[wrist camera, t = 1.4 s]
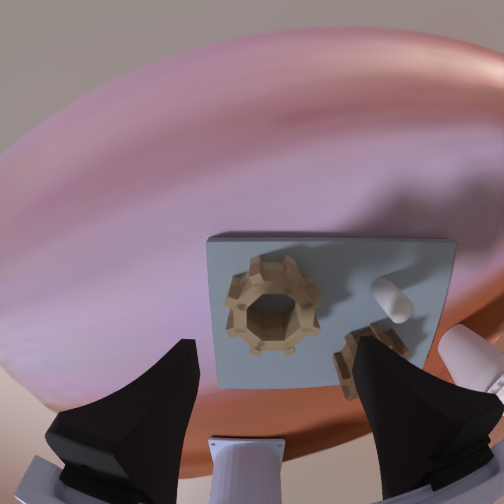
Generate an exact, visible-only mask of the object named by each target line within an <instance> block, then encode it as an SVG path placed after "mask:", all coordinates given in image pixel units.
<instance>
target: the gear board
mask: <svg viewBox="0 0 504 504" xmlns="http://www.w3.org/2000/svg"><path fill="white" fill-rule="evenodd" d="M456 244H457V243H456V242H453V241H451V240H449V239H431V238H379V237H209V238H208V240H207V241H206V251H207V267H208V282H209V296H210V308H211V320H212V331H213V341H214V351H215V361H216V370H217V379H218V387H219V388H227V389H287V388H306V387H320V386H331V385H341V383H340V381H339V378H338V375H337V371H336V369H335V366H334V363H333V360H332V358H333V353H340V352H341V350H342V349H343V347H344V346H345V344H346V343H347V342H346V340H345V338H344V337H345V336H346V335H347V334H348V333H349V332H351V333H352V334H353V335H357V334H359V333H361V332H363V331H366V330H368V329H369V325H370V323H378V325H379V326H380V327H381V329H382V330H383V331H385V332H388V331H389V330H390V329H391V328H393V329H394V331H395V332H396V333H397V335H398V336H399V337H400V339H401V340H402V341H403V343H404V344H405V345H406V347H407V348H408V350H409V351H410V352H411V355H410V356H409V357H408V358H407V361H409V362H410V363H412V364H414V365H415V366H417V367H418V368H420V369H422V368H423V365H424V362H425V360H426V357H427V355H428V352H429V349H430V346H431V344H432V341H433V338H434V335H435V332H436V329H437V325H438V322H439V319H440V315H441V312H442V308H443V305H444V301H445V297H446V293H447V289H448V285H449V281H450V276H451V271H452V266H453V261H454V256H455V250H456ZM258 255H260V257H261V260H262V262H282V261H283V259H284V256H285V255H287V256H290V257H292V258H294V259H295V262H296V264H297V267H298V269H299V272H300V274H301V276H302V277H303V278H305V277H307V276H310V275H311V277H312V279H313V281H314V283H315V285H316V287H317V289H318V291H319V293H320V295H321V298H322V301H323V304H324V305H322V306H319V307H317V308H315V314H316V317H317V320H318V323H319V325H320V328H321V330H320V331H319V333H318V335H317V336H316V337H314V336H310V335H307V336H306V337H305V338H304V339H302V340H301V341H300V342H298V343H297V344H296V345H295V346H294V347H295V353H294V354H292V355H289V356H286V355H285V353H284V351H283V350H272V351H262V353H261V355H260V357H258V356H255V355H252V354H250V345H249V344H248V343H247V342H246V341H244V340H243V339H242V338H241V337H239V336H236V337H233V338H230V337H229V335H228V334H227V332H226V326H227V320H228V315H229V310H230V308H229V307H226V306H224V304H225V300H226V296H227V291H228V287H229V283H230V281H231V278H232V276H235V277H238V278H241V277H242V276H243V275H244V274H246V273H247V272H248V271H249V268H250V258H253V257H255V256H258ZM294 302H295V301H294V300H293V299H292V298H291V297H290V296H289V295H288V294H262V295H261V296H260V297H259V298H258V299H257V300H255V301H254V302H253V303H252V304H251V306H252V307H253V308H254V309H255V310H256V311H258V312H259V313H260V314H261V315H281V314H282V313H284V312H285V311H286V310H287V309H288V308H289V307H291V306H292V305H293V304H294Z"/></svg>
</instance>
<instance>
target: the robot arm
mask: <svg viewBox="0 0 504 504" xmlns="http://www.w3.org/2000/svg"><path fill="white" fill-rule="evenodd" d="M352 375H353V379H354V383H355V387H356V390H357V393H358V395H359V398H360V400H361V403H362V405H363V408H364V410H365V413H366V415H367V418H368V420H369V423H370V426H371V429H372V432H373V436H374V440H375V444H376V449H377V454H378V459H379V465H380V473H381V481H382V495H383V501H379V502H375V503H372V504H492V503H493V502H495V501H496V500H498V499H499V498H500V497H501V496H503V495H504V439H503V440H501V441H500V442H498V443H497V444H496V445H494V446H493V447H492V448H491V449H490V448H489V446H488V444H489V443H490V441H491V440H490V438H489V436H488V435H489V434H490V432H491V431H492V430H493V428H494V427H495V426H496V424H497V423H498V422H499V420H500V419H501V417H502V415H503V413H504V404H503V403H502V401H501V400H500V399H499V397H498V396H497V395H496V394H494V393H487V392H480V391H475V390H471V389H467V388H463V387H460V386H457V385H454V384H452V383H449V382H446V381H444V380H442V379H439V378H437V377H435V376H433V375H431V374H429V373H427V372H425V371H424V370H422V369H420V368H418V367H417V366H415V365H414V364H412V363H410V362H409V361H407V360H406V359H405V358H403V357H402V356H400V355H399V354H397V353H396V352H395V351H393V350H392V349H391V348H389V347H388V346H387V345H385V344H384V343H383V342H381V341H380V340H378V339H377V338H375V337H374V336H372V335H370V336H360V338H359V342H358V347H357V351H356V355H355V359H354V363H353V367H352ZM199 380H200V369H199V363H198V356H197V349H196V342H195V340H194V339H181V340H180V341H179V342H178V343H177V344H176V345H175V346H174V347H173V348H171V349H170V350H169V351H168V352H167V353H166V354H165V355H164V356H163V357H162V358H161V359H160V360H159V361H158V362H157V363H156V364H155V365H153V366H152V367H151V368H150V369H149V370H147V371H146V372H145V373H144V374H142V375H141V376H140V377H139V378H137V379H136V380H134V381H133V382H131V383H130V384H128V385H127V386H125V387H123V388H122V389H120V390H118V391H116V392H114V393H112V394H110V395H108V396H107V397H105V398H102V399H100V400H98V401H95V402H93V403H90V404H87V405H84V406H81V407H78V408H74V409H70V410H67V411H62V412H59V414H58V415H57V416H56V418H55V419H54V421H53V423H52V424H51V426H50V427H49V429H48V430H47V432H46V434H45V438H46V441H47V443H48V445H49V446H50V447H51V449H52V450H53V451H54V452H55V453H56V455H57V456H58V457H59V458H60V459H61V460H62V461H63V462H64V464H65V467H64V469H63V470H62V469H61V468H59V467H58V466H56V465H55V464H53V463H51V462H49V461H47V460H45V459H43V458H41V457H39V456H37V455H36V456H35V457H34V459H33V460H32V462H31V464H30V466H29V467H28V469H27V471H26V473H25V474H24V476H23V478H22V480H21V482H20V483H19V485H18V487H17V489H16V491H15V493H14V497H15V498H17V499H18V500H19V501H20V502H22V503H23V504H176V500H177V487H178V477H179V468H180V461H181V454H182V448H183V442H184V437H185V433H186V429H187V426H188V423H189V419H190V416H191V413H192V410H193V406H194V403H195V400H196V396H197V392H198V386H199ZM208 442H209V447H210V451H211V455H212V459H213V463H214V468H213V476H212V483H211V491H210V499H209V504H282V499H281V480H280V472H281V466H282V460H283V454H284V447H285V440H284V439H281V438H280V439H235V438H216V437H211V438H209V440H208Z"/></svg>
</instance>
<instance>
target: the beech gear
mask: <svg viewBox="0 0 504 504" xmlns="http://www.w3.org/2000/svg"><path fill="white" fill-rule="evenodd" d="M262 294H288V295H289V296H290V297H291V298H292V299H293V300H294V301H295V302H294V304H293V305H292V306H291V307H289V308H288V309H287V310H286V311H285V312H284V313H282V314H281V315H261V314H260V313H259V312H258V311H256V310H255V309H254V308H253V307H252V306H251V304H252V303H253V302H254V301H255V300H257V299H258V298H259V297H260V296H261V295H262ZM322 305H324V304H323V301H322V298H321V295H320V293H319V291H318V289H317V287H316V285H315V283H314V281H313V279H312V277H311V275H310V276H307V277H305V278H303V277H302V276H301V274H300V272H299V269H298V267H297V264H296V262H295V259H294V258H292V257H290V256H287V255H285V256H284V259H283V261H282V262H262V260H261V257H260V255H258V256H255V257H253V258H250V268H249V271H248V272H247V273H246V274H244V275H243V276H242V277H241V278H238V277H235V276H232V278H231V281H230V283H229V287H228V291H227V296H226V300H225V304H224V306H226V307H229V308H230V310H229V315H228V320H227V326H226V332H227V334H228V335H229V337H230V338H233V337H236V336H239V337H241V338H242V339H243V340H244V341H246V342H247V343H248V344H249V345H250V354H252V355H255V356H258V357H260V355H261V353H262V351H272V350H283V351H284V353H285V355H286V356H289V355H292V354H294V353H295V347H294V346H295V345H296V344H297V343H298V342H300V341H301V340H302V339H304V338H305V337H306V336H307V335H310V336H314V337H316V336H317V335H318V333H319V331H320V330H321V328H320V325H319V323H318V320H317V317H316V314H315V308H317V307H319V306H322Z"/></svg>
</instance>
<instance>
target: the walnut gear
mask: <svg viewBox="0 0 504 504" xmlns="http://www.w3.org/2000/svg"><path fill="white" fill-rule="evenodd" d="M370 335H372V336H374V337H375V338H377V339H378V340H380V341H381V342H383V343H384V344H385V345H387V346H388V347H389V348H391V349H392V350H393V351H395V352H396V353H397V354H399V355H400V356H402V357H403V358H405V359H406V360H407V358H408V357H409V356H410V355H411V352H410V351H409V350H408V348H407V347H406V345H405V344H404V343H403V341H402V340H401V339H400V337H399V336H398V335H397V333H396V332H395V331H394V329H393V328H391V329H390V330H389V331H388V332H385V331H383V330H382V329H381V327H380V326H379V325H378V323H370V325H369V329H368V330H366V331H363V332H361V333H359V334H357V335H353V334H352V333H351V332H349V333H348V334H347V335H346V336H345V337H344V338H345V340H346V342H347V343H346V344H345V346H344V347H343V349H342V350H341V352H340V353H333V358H332V360H333V363H334V366H335V369H336V371H337V375H338V378H339V381H340V383H341V386H342V389H343V392H344V395H345V398H346V399H347V400H348V401H352V400H353V399H355V398H359V395H358V393H357V390H356V387H355V383H354V379H353V375H352V367H353V363H354V359H355V355H356V351H357V347H358V342H359V338H360V336H370Z"/></svg>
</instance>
